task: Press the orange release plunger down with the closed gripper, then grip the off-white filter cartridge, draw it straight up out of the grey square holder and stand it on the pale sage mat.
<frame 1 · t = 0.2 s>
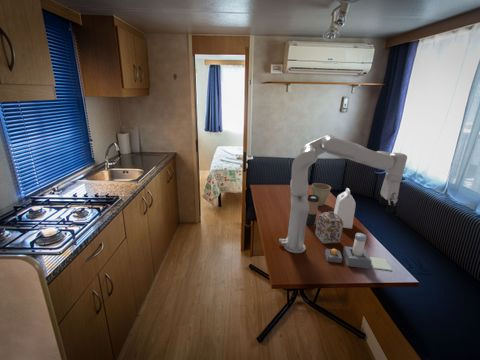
hand: (386, 207, 138), 31 cm above the table, fingers open, 9 cm apart
plant pot: (318, 204, 218), on the table
release plunger: (334, 252, 144), point 3 cm above the table, slide at 0.0 cm
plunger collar: (333, 258, 145), on the table
decorative jar: (327, 238, 165), on the table
milk: (341, 223, 186), on the table
travel mug: (309, 223, 184), on the table
filter cartridge: (358, 248, 141), in the grey square holder
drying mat: (379, 263, 142), on the table
grey square holder: (355, 260, 144), on the table
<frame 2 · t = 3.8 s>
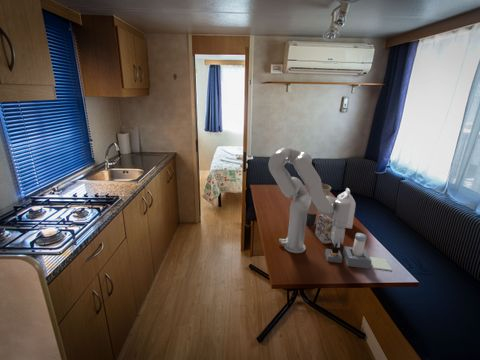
hand: (334, 252, 144), 4 cm above the table, fingers closed
release plunger: (333, 254, 145), point 2 cm above the table, slide at 1.2 cm
everything else where it was.
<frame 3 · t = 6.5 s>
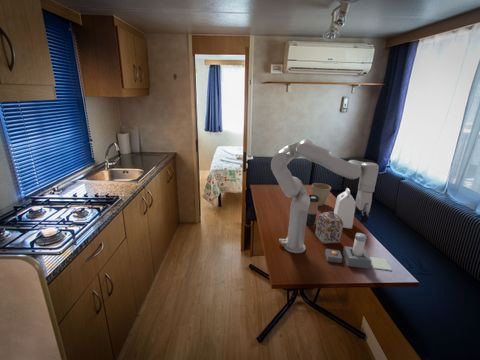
hand: (360, 218, 136), 26 cm above the table, fingers open, 9 cm apart
nothing on the table moved.
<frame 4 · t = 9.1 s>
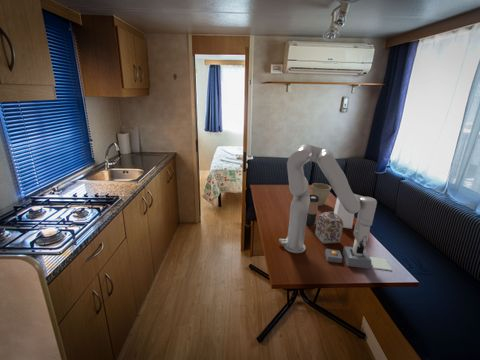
hand: (358, 249, 142), 7 cm above the table, fingers closed on filter cartridge, 5 cm apart
filter cartridge: (358, 248, 141), in the grey square holder, touching gripper
everything else where it was.
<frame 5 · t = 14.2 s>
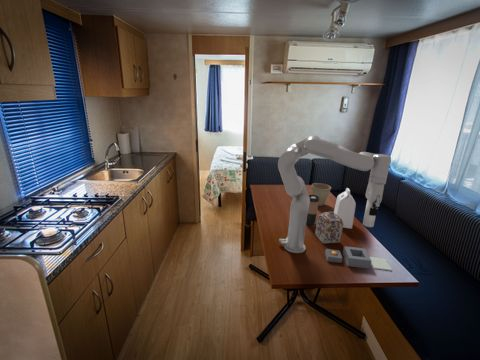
hand: (370, 212, 134), 30 cm above the table, fingers closed on filter cartridge, 5 cm apart
filter cartridge: (370, 210, 134), point 31 cm above the table, touching gripper
everything else where it was.
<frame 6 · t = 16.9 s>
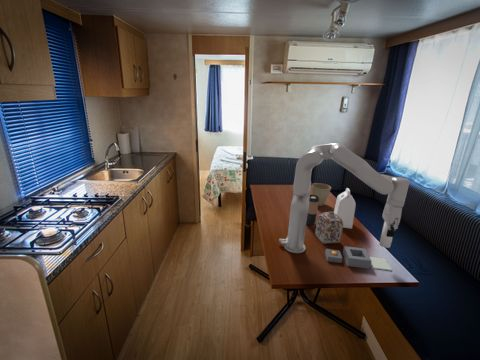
hand: (387, 233, 136), 19 cm above the table, fingers closed on filter cartridge, 5 cm apart
filter cartridge: (388, 231, 136), point 20 cm above the table, touching gripper
everything else where it was.
when the fingers open (9 cm above the table, at t = 19.1 s): filter cartridge drops 2 cm, resting on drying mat.
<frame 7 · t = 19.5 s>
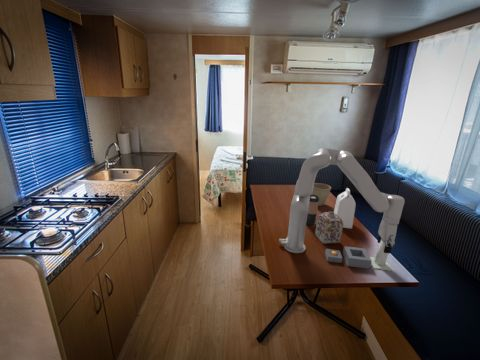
hand: (383, 247, 139), 10 cm above the table, fingers open, 9 cm apart
filter cartridge: (383, 250, 139), on the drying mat, point 9 cm above the table
everything else where it was.
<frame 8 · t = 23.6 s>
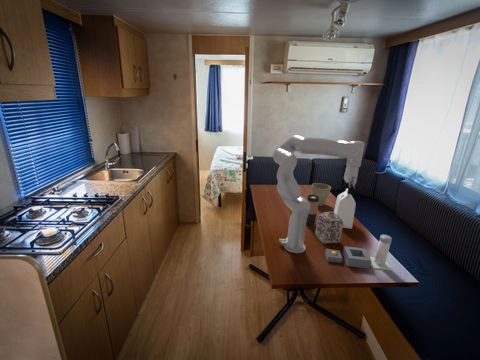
hand: (348, 191, 153), 33 cm above the table, fingers open, 9 cm apart
nothing on the table moved.
at the end: release plunger slide at 1.4 cm; filter cartridge inside the target area on the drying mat (0.1 cm from its centre), point 8.6 cm above the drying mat's base; filter cartridge tilted 0° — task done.
